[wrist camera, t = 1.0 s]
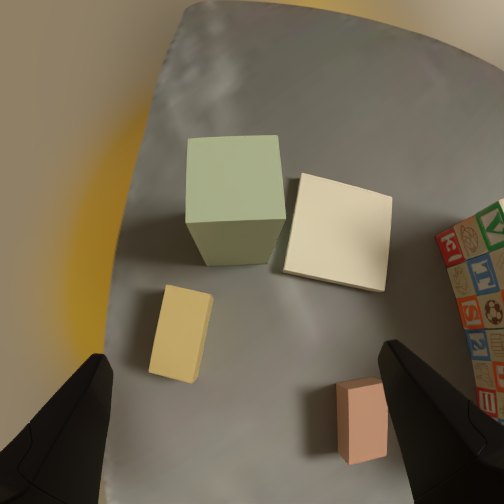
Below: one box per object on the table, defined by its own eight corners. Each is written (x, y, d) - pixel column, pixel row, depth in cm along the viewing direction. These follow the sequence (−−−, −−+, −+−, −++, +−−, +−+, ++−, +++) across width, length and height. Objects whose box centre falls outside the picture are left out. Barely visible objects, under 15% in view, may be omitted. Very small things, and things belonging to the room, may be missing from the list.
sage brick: (267, 263, 24) (286, 218, 14) (206, 266, 24) (185, 222, 14) (263, 207, 25) (277, 135, 15) (206, 209, 25) (188, 138, 15)
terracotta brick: (371, 443, 21) (386, 455, 18) (337, 451, 21) (348, 465, 18) (371, 376, 22) (387, 381, 19) (335, 382, 22) (348, 389, 19)
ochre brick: (198, 376, 22) (192, 383, 19) (159, 367, 22) (148, 371, 19) (213, 298, 23) (210, 294, 20) (175, 289, 23) (166, 284, 20)
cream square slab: (376, 293, 24) (384, 291, 23) (281, 273, 24) (284, 269, 23) (385, 203, 26) (392, 197, 25) (298, 181, 26) (301, 172, 25)
